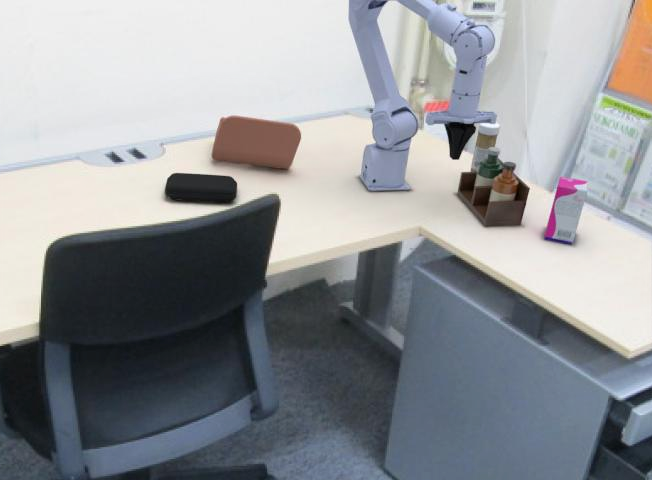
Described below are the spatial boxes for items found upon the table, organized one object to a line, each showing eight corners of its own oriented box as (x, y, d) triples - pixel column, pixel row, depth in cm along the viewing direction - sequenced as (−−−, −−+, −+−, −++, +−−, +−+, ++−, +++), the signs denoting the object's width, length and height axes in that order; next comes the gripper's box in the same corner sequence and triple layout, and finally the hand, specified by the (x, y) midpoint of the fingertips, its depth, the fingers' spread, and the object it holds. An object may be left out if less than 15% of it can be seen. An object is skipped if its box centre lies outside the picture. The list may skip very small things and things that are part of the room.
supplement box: (574, 233, 183) (589, 180, 176) (572, 245, 178) (587, 191, 172) (546, 227, 184) (560, 175, 177) (543, 239, 180) (557, 185, 173)
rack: (485, 226, 183) (493, 188, 178) (456, 194, 195) (464, 158, 190) (520, 225, 184) (530, 188, 179) (490, 193, 197) (498, 157, 192)
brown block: (281, 191, 199) (304, 129, 190) (207, 167, 196) (227, 103, 187) (283, 164, 212) (304, 104, 203) (213, 140, 209) (232, 79, 200)
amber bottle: (492, 217, 183) (503, 168, 177) (482, 207, 187) (493, 159, 181) (514, 216, 185) (526, 168, 178) (505, 206, 188) (516, 159, 182)
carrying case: (237, 185, 191) (168, 181, 190) (237, 171, 189) (168, 167, 188) (236, 206, 182) (164, 202, 181) (236, 192, 180) (163, 187, 179)
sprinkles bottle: (491, 183, 202) (504, 124, 194) (479, 187, 199) (492, 128, 191) (475, 176, 204) (487, 118, 196) (463, 180, 202) (475, 122, 194)
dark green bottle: (477, 201, 190) (488, 153, 183) (468, 191, 194) (478, 144, 187) (499, 200, 191) (510, 153, 184) (490, 191, 195) (500, 144, 188)
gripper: (439, 98, 171) (428, 166, 179) (508, 97, 174) (494, 164, 182) (426, 87, 177) (416, 153, 185) (493, 86, 180) (480, 151, 188)
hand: (454, 158), depth 184 cm, fingers closed
